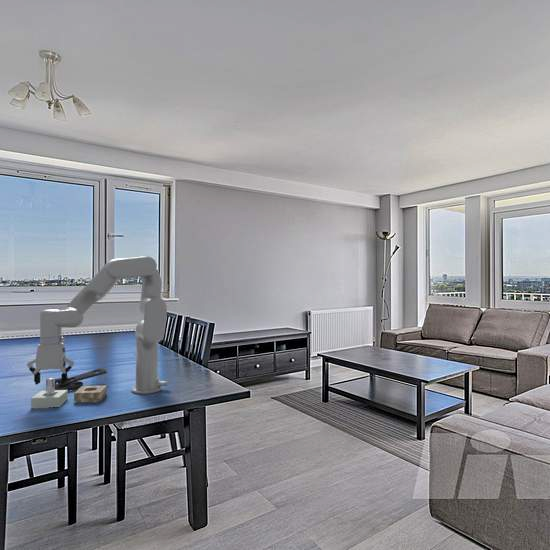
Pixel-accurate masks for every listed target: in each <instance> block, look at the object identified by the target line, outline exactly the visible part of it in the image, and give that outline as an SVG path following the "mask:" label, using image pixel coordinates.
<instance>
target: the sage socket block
mask: <svg viewBox="0 0 550 550" xmlns="http://www.w3.org/2000/svg"><path fill="white" fill-rule="evenodd" d="M68 398H69V392H68V390H55V395H53V396H46V390H41V391H39V392H37V393H36V394H35V395H33V397H31V398H30V409H31V408H33V409H53V408H52V407H59V408H60V407H61V406H63V404H64V403H66V402H67V401H68V400H69V399H68ZM67 399H68V400H67ZM66 400H67V401H66ZM65 401H66V402H65ZM49 407H51V408H49Z"/></svg>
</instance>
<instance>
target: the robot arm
mask: <svg viewBox="0 0 550 550" xmlns="http://www.w3.org/2000/svg"><path fill="white" fill-rule="evenodd" d="M157 266H158V264H157V261H156V260H155V259H154V258H153V257H152V256H148V255H145V256H144V255H143V256H138V257H127V258H114V259H109V261H107V262H106V263H105V264H104V266H102V267H101V269H100V270H99V271H98V272H97V273H96V274H95V276H93V278H92V279H90V280H89V282H88V283H87V284H86V285H85V286H84V287H83V288H82V290H80V291H79V292H78V293H77V294H76V295H75V296H74V298H72V299H71V301H70V302H68V304H67V305H66V306H65V307H64V309H63V310H60V309H56V308H55V309H50V308H49V309H42V310H41V311H40V314H39V342H40V343H39V344H38V345H37V349H36V356H35V359H33V360H30V361H29V362H27V363H26V366H27V368H28V369H29V371H30V372H31V373H32V375H33V378H34V379H33V382H34V385H36V386H37V385H39V384H40V383H41V370H42V371H45V370H46V371H47V370H50V371H51V370H59V371H60V372H62V373H61V376H60V378H61V383H62V384H64V383H65V382H66V381H67V377H68V372H69V371H70V370H71V369H72V368H73V366H74V364H75V361H74V360H72V359H70V358H67V354H66V353H67V351H66V348H65V347H66V346H65V343H64V342H65V341H66V337H65V336H64V337H63V335H62V329H63V328H77V327H79V326H81V324H82V323H83V321H84V314H85V313H86V312H87V311H88V310H89V309H90V308H91V307H92V306H93V305H94V304H96V303H97V302H99V301H101V300H102V299H103V298H105V297H106V296H107V294H108V293H109V292H111V290H112V289H113V287H115V285H116V284H117V283H118V282H119V281H120V280H126V279H127V280H128V279H133V278H134V279H135V278H140V280H141V294H140V302H139V303H140V304H139V311H140V313H141V314H142V315H144V316H143V320H141V321H139V322H138V323H137V325H136V326H135V329H134V334H135V335H134V338H135V385H134V386H133V387H132V388H131V392H132V393H134V394H139V395H148V394H155V393H157V392H160V391H161V390H162V387H168V386H169V381H166V380H160V378H159V377H158V376H159V343H160V342H161V341H162V340H163V338H164V336H165V332H166V324H167V313H168V308H167V304H166V302H165V300H164V299H163V298H162V282H163V281H162V277H161V274H160V272H159V270H158V268H157ZM63 341H64V342H63ZM34 364H35V366H33V365H34ZM67 364H68V367H67Z"/></svg>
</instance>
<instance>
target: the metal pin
mask: <svg viewBox="0 0 550 550" xmlns="http://www.w3.org/2000/svg"><path fill="white" fill-rule="evenodd" d="M55 379H56V378H55V377H49V378H46V379H45V391H46V396H53V395H55Z"/></svg>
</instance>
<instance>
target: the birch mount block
mask: <svg viewBox="0 0 550 550" xmlns="http://www.w3.org/2000/svg"><path fill="white" fill-rule="evenodd" d="M73 395H74V396H73V403H74V402H90V403H101V402H102V401H103V399H105V397H106V396H107V385H83V386H82V387H80V388H79V389H78V390H75V392H74V393H73ZM105 395H106V396H105ZM104 396H105V397H104ZM101 400H102V401H101ZM100 401H101V402H100Z"/></svg>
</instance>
